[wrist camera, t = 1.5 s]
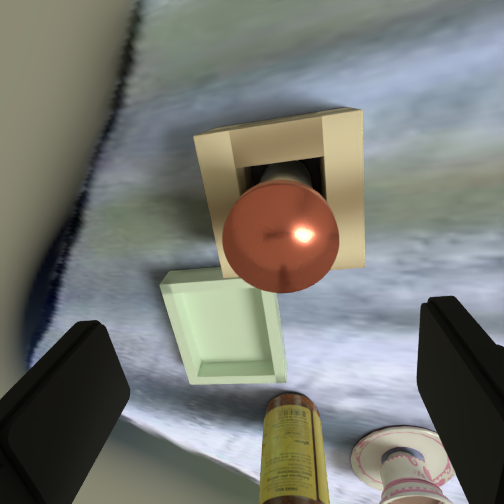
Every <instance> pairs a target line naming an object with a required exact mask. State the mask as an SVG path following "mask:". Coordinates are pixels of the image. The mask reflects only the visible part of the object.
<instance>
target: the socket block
mask: <svg viewBox="0 0 504 504" xmlns="http://www.w3.org/2000/svg"><path fill="white" fill-rule="evenodd" d="M193 138H194V142H195V147H196V152H197V156H198V161H199V166H200V170H201V175H202V180H203V184H204V189H205V194H206V198H207V203H208V208H209V212H210V217H211V222H212V226H213V231H214V236H215V240H216V245H217V250H218V254H219V259H220V264H221V268H222V273H223V278H233V277H239V276H238V275H237V274H236V273H235V272H234V271H233V269H232V268H231V266H230V265H229V263H228V261H227V259H226V257H225V254H224V250H223V244H222V233H223V227H224V224H225V221H226V218H227V216H228V214H229V212H230V211H231V209H232V207H233V206H234V204H235V202H236V201H237V200H238V199H239V197H240V196H241V195H242V194H244V193H245V192H246V191H247V190H249V189H250V188H252V187H253V185H252V178H251V172H250V166H256V165H263V164H271V163H278V162H286V161H293V160H300V159H308V158H315V157H319V163H320V178H321V193H322V197H323V198H324V199H325V200H326V201H327V203H328V204H329V206H330V208H331V209H332V212H333V214H334V217H335V220H336V223H337V226H338V230H339V250H338V254H337V257H336V260H335V262H334V264H333V266H332V267H331V269H330V270H337V269H350V268H363V267H365V236H364V169H363V110H361V109H355V108H350V107H345V108H339V109H332V110H326V111H320V112H314V113H307V114H301V115H295V116H288V117H282V118H276V119H269V120H263V121H257V122H251V123H244V124H238V125H232V126H225V127H219V128H214V129H211V130H209V131H206V132H203V133H201V134H198V135H195V136H193Z"/></svg>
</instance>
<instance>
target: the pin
mask: <svg viewBox="0 0 504 504" xmlns="http://www.w3.org/2000/svg"><path fill="white" fill-rule="evenodd" d="M222 244H223V250H224V254H225V257H226V259H227V261H228V263H229V265H230V266H231V268H232V269H233V271H234V272H235V273H236V274H237V275H238V276H239V277H240V278H241V279H242V280H244V281H245V282H246V283H248V284H250V285H251V286H253V287H255V288H258V289H260V290H263V291H267V292H272V293H291V292H296V291H300V290H303V289H306V288H308V287H310V286H312V285H314V284H315V283H317V282H318V281H319V280H321V279H322V278H323V277H324V276H325V275H326V274H327V273H328V271H329V270H330V269H331V267H332V266H333V264H334V262H335V260H336V257H337V254H338V250H339V230H338V226H337V223H336V220H335V217H334V214H333V212H332V209H331V208H330V206H329V204H328V203H327V201H326V200H325V199H324V198H323V197H322V196H321V195H320V194H319V193H318V192H317V191H315V190H314V189H313V188H312V182H311V177H310V174H309V172H308V170H307V168H306V167H305V166H304V165H303V164H302V163H300V162H299V161H297V160H293V161H286V162H278V163H272V164H270V165H269V166H268V167H267V169H266V170H265V172H264V174H263V176H262V179H261V181H260V183H259V184H257V185H255V186H253V187H252V188H250V189H249V190H247V191H246V192H245V193H244V194H242V195H241V196H240V197H239V199H238V200H237V201H236V202H235V204H234V206H233V207H232V209H231V211H230V212H229V214H228V216H227V218H226V221H225V224H224V227H223V233H222Z"/></svg>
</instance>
